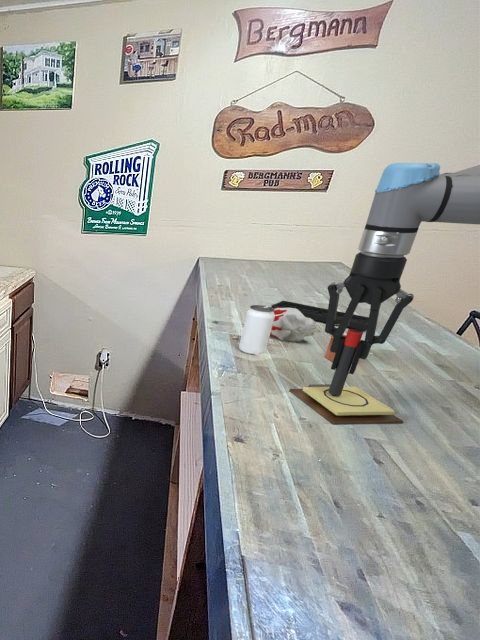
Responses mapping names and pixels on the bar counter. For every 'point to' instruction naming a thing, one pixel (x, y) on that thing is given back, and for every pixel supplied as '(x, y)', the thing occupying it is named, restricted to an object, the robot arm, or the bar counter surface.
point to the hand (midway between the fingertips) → (342, 369)
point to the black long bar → (324, 314)
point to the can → (257, 329)
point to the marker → (345, 361)
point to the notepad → (348, 401)
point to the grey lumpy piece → (291, 325)
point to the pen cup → (329, 354)
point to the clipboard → (342, 418)
